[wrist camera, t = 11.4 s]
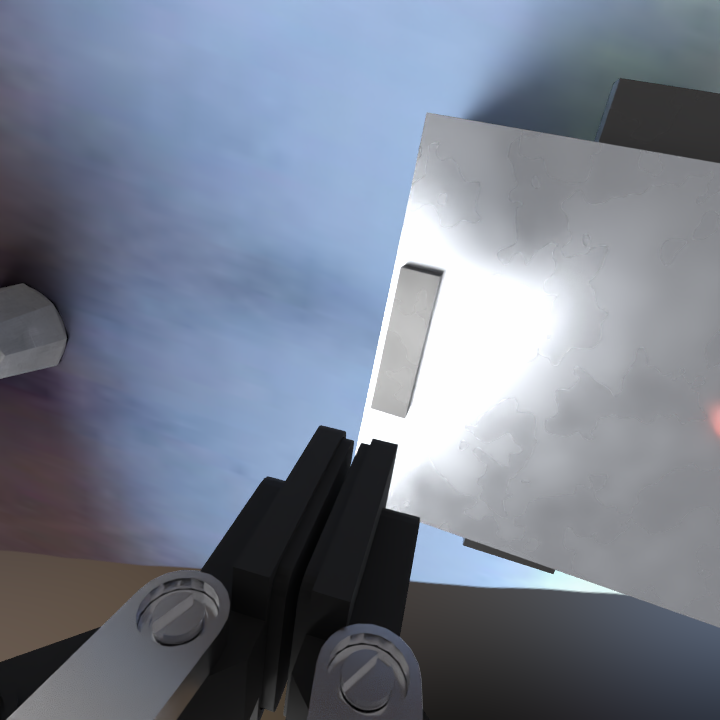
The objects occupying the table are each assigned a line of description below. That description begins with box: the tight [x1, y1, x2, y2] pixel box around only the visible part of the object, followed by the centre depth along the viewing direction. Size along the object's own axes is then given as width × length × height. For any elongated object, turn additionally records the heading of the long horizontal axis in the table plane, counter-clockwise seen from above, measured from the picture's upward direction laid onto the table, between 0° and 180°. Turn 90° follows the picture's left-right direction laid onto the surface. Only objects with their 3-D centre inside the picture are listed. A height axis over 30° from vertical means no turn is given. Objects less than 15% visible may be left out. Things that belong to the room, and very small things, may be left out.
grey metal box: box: [463, 78, 720, 574], centre depth 32 cm, size 28×22×12 cm
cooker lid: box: [355, 113, 720, 627], centre depth 24 cm, size 22×22×3 cm
